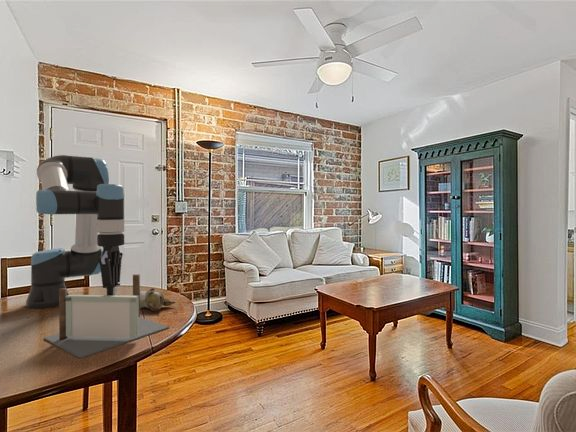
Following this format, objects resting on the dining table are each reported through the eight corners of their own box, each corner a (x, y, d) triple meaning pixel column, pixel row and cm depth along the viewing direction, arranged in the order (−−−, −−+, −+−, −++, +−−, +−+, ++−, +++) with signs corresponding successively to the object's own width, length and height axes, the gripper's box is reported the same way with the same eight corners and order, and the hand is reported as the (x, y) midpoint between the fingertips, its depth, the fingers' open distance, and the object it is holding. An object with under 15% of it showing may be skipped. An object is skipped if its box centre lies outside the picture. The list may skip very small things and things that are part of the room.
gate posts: (57, 340, 100) (57, 289, 100) (137, 315, 125) (136, 273, 125) (61, 342, 99) (61, 289, 99) (141, 316, 124) (141, 274, 123)
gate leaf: (65, 336, 100) (65, 296, 99) (70, 334, 101) (69, 294, 101) (135, 337, 98) (135, 297, 98) (138, 335, 100) (138, 295, 100)
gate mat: (44, 339, 101) (44, 337, 101) (129, 315, 125) (129, 314, 125) (80, 358, 88) (80, 356, 88) (169, 328, 111) (169, 326, 111)
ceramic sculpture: (148, 283, 141) (177, 288, 136) (147, 303, 141) (176, 308, 136) (129, 289, 131) (159, 294, 126) (128, 310, 131) (158, 316, 126)
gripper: (106, 231, 108) (107, 302, 109) (88, 234, 96) (89, 314, 96) (130, 231, 109) (131, 301, 110) (115, 234, 97) (116, 313, 97)
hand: (111, 307), depth 103 cm, fingers closed
